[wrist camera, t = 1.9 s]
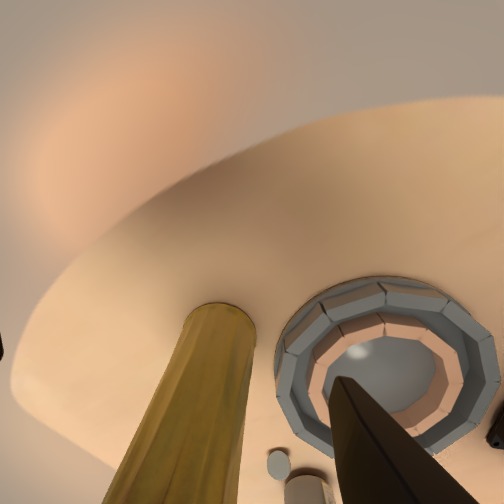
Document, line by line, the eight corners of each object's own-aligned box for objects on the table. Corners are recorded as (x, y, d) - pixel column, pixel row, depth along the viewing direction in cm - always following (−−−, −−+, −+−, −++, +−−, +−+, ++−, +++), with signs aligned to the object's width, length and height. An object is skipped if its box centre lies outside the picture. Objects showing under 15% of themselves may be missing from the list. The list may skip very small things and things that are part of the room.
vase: (212, 375, 23) (135, 668, 10) (168, 324, 22) (7, 580, 8) (270, 344, 22) (277, 631, 8) (228, 288, 21) (153, 521, 7)
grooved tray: (511, 292, 19) (544, 308, 17) (436, 450, 24) (454, 479, 22) (291, 261, 20) (295, 274, 17) (261, 425, 25) (261, 451, 22)
